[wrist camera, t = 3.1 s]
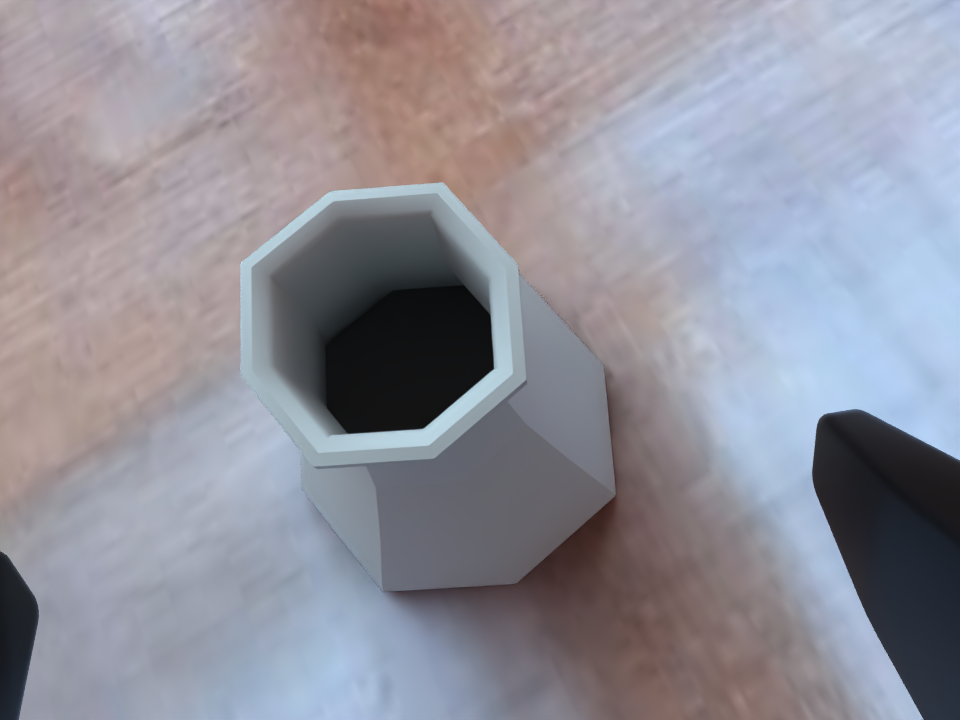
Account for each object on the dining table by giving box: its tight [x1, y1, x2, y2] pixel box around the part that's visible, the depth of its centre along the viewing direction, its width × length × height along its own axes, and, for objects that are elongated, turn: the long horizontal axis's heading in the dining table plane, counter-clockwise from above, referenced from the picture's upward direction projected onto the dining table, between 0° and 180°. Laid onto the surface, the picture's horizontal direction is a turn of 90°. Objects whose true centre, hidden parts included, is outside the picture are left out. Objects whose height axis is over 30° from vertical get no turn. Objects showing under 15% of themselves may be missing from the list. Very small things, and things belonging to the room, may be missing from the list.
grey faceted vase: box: [240, 182, 616, 592], centre depth 14 cm, size 7×7×10 cm
